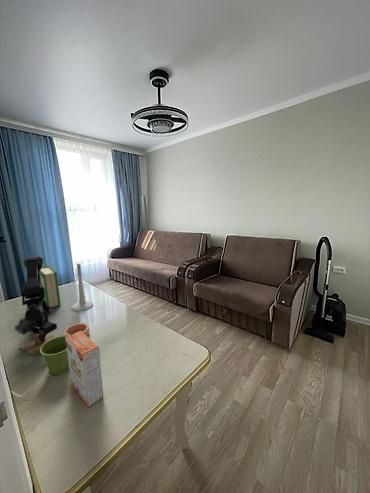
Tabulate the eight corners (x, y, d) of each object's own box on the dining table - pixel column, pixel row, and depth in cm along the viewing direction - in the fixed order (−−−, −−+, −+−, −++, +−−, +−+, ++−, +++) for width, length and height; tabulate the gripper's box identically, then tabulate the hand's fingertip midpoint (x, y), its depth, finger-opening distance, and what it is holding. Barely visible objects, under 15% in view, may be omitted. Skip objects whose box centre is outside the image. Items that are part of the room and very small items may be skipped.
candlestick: (86, 300, 148) (82, 259, 142) (97, 305, 141) (93, 262, 135) (68, 307, 138) (63, 263, 132) (78, 313, 130) (73, 267, 124)
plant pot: (52, 385, 79) (49, 359, 77) (37, 371, 85) (33, 347, 83) (82, 365, 89) (79, 341, 87) (66, 354, 95) (64, 332, 93)
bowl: (60, 340, 105) (59, 332, 104) (78, 328, 115) (77, 321, 114) (76, 346, 101) (75, 338, 100) (93, 333, 111) (93, 325, 110)
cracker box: (70, 386, 79) (64, 336, 75) (86, 376, 83) (81, 329, 79) (87, 409, 70) (81, 355, 66) (104, 397, 74) (99, 345, 70)
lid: (19, 348, 98) (17, 337, 97) (44, 334, 109) (43, 323, 108) (36, 355, 94) (34, 343, 92) (60, 339, 104) (59, 329, 103)
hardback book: (60, 305, 140) (56, 271, 135) (47, 309, 135) (43, 274, 130) (53, 297, 152) (49, 265, 147) (41, 300, 147) (37, 268, 142)
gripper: (3, 315, 94) (9, 345, 97) (30, 324, 87) (35, 357, 90) (29, 304, 104) (34, 332, 107) (55, 311, 97) (59, 341, 100)
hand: (40, 340), depth 101 cm, fingers closed on lid, 3 cm apart
